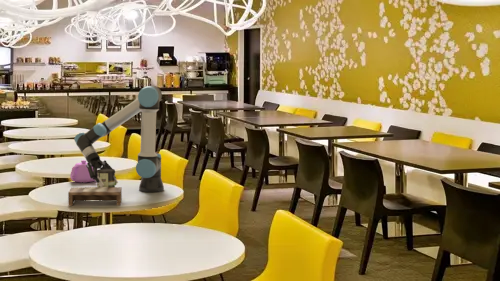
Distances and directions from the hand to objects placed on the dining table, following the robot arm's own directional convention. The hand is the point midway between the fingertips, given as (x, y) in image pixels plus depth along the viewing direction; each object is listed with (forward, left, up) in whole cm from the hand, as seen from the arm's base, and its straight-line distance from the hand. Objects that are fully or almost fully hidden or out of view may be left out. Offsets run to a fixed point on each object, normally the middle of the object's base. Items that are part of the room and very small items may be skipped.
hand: (109, 185), depth 402 cm
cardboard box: (+7, +14, -8) cm, 17 cm away
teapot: (+18, -52, -8) cm, 56 cm away
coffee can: (+2, -2, -6) cm, 6 cm away
